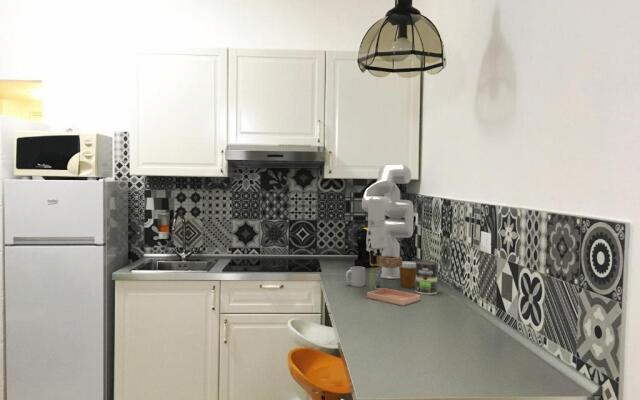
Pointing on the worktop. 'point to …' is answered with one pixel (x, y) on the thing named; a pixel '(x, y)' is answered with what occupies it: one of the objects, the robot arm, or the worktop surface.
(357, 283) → the cup
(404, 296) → the tray
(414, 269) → the disposable coffee cup
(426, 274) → the coffee can
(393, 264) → the brown square frame
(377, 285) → the grey piece
